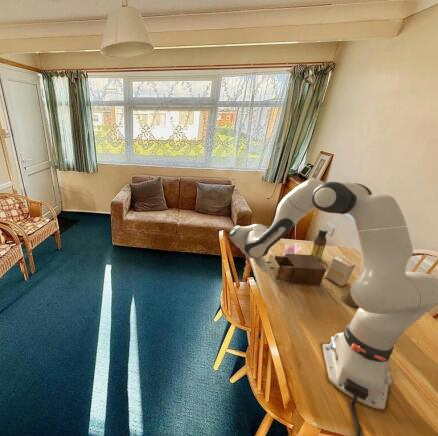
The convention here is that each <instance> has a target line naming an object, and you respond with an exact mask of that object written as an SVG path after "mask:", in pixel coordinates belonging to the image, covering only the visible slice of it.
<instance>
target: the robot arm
mask: <svg viewBox="0 0 438 436" xmlns="http://www.w3.org/2000/svg"><path fill="white" fill-rule="evenodd" d="M315 209H317V210H318V211H321V212H324V213H328V214H339V215H346V214H348V215H350V216H351V217H352V218H353V219H354V222H355V226H356V230H357V231H356V232H357V236H358V240H359V245H360V251H361V264H360V269H359V273H358V275H357V277H356V279H355V280H354V283H353V282H352V283H353V284H352V283H351V284H352V286H351V285H350V289H349V290H350V293H351V297H352V299H353V301H354V302H355V303H356V304H357V306H358V309H357V310H356V312H355V314H354V316H353V317H352V319H351V321H350V322H348V323H347V324H346V325H345V327H344V330H343V331H341V332H338V333H336V334H335V335H334V336H331V341H330V343H323V344H322V351H323V352H322V353H323V357H324V362H325V367H326V371H327V376H328V380H329V383H331V384H332V385H333V386H334V387H336V388H337V389H338V390H339V391H341V392H342V393H344V394H345V395H346V396H348V397H350V398H352V401H350V412H351V415H352V419H353V422H354V425H355V431H356V434H355V436H362V435H361V433H362V432H361V427H360V424H359V421H358V418H357V415H356V411H355V405H356V404H357V402H359V403H361V404H363V405H366V406H368V407H370V408H373V409H377V410H385V407H386V404H387V398H388V392H389V386H390V387H391V385H393V381H394V380H393V378H391V375H390V373H389V372H392V370H393V366H390V362H391V359H392V354H393V351H394V347H395V344H396V343H397V342H398V340H399V339H400V337H401V336H402V335H403V333H405V331H406V330H408V329H410V327H411V326H413V325H414V324H415V323H416V322H417V321H419V320H420V319H422V317H424V316H425V315H426V314H427V313H428V312H429V311H430V310H432V309H433V308H434V307H436V306H437V305H438V278H437V277H435V276H434V275H431V274H429V273H425V272H421V271H420V272H419V271H408V270H407V264H408V262H409V260H410V259H411V258H412V256H413V255H414V248H413V244H412V241H411V236H410V232H409V228H408V225H407V221H406V219H405V216H404V213H403V212H402V209H401V207H400V206H399V203H398V202H397V200H396V199H395V198H394V196H391V195H389V194H383V193H374V194H373V192H372V191H371V189H370V188H369V187H368V186H365V185H364V184H361V183H356V182H354V183H353V182H349V181H328V182H325V181H322V180H320V179H318V178H310V179H307V180H305V181H304V182H302V183H300V184H298V185H297V186H295V188H293V189H292V190H291V191H290V192H288V193H287V194H286V195H284V196H283V197H282V199H281V200H280V202H279V203H278V204H277V207H276V212H275V215H274V219H273V221H272V224H271V225H270V227H269V228H268V227H267V225H265V224H263V223H253V224H251V225H247V226H245V225H244V226H241V225H235V226H233V227H232V228H231V229H230V232H229V233H228V234H229V235H228V237H229V239H230V241H231V242H232V243H233V244H234V245H235V246H236V247H237V248H238V249H240V251H241V253H243V255H244V256H245V257H246V258H247V259H253V261H254V263H255V264H256V266H257V267H258V268H259V269H260V270H261V272H263V273H264V274H266V273H268V272H269V271H271V269H270V267H269V266H268V264H267V262H268V261H267V260H266V258H265V256H267V254H268V253H269V250H270V249H271V248H272V247H273V246H274V245H276V244H277V242H279V241H280V240H281V239H282V238H284V237H285V236H286V235H288V233H289V232H290V231H291V230H292V229H293V228H294V227H295V226H296V225H297V224H298V223H299V222H300V221H301V220H302V219H303V218H305V217H306V216H307V215H308V214H309V213H311V212H312V211H314V210H315ZM406 270H407V271H406ZM269 273H270V272H269ZM388 371H389V372H388Z"/></svg>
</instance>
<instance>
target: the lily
mask: <svg viewBox="0 0 438 436" xmlns="http://www.w3.org/2000/svg"><path fill="white" fill-rule="evenodd" d="M284 246H285V247H284V248H285V251H284V252H283V253H282V255H281V256H285V253H286V254H297V252H298V251H300V250H301V249H302V248H303V246H297V242H295V243H294V244H293V245H292V246H291V245H290V244H289V245H288V244H285V245H284Z"/></svg>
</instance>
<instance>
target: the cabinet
mask: <svg viewBox="0 0 438 436" xmlns="http://www.w3.org/2000/svg"><path fill="white" fill-rule="evenodd" d="M284 253H285V252H284ZM284 256H286V257H287V258H288V259H289V261H290V262H291V264H292V265H293V266H294V270H293V273H292V276H291V279H290V280H287V281H288V283H289V284H291V285H303V286H315V287H316V286H317V287H320V286H321V284H322V282H323V280H324V276H325V275H326V273H327V272H326V271H327V268H325V266H324V265H323V264H322V263H321V262H320V260H317V259H316V258H315V257H314V255H309V254H300V253H296V254H286V253H285V255H284Z"/></svg>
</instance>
